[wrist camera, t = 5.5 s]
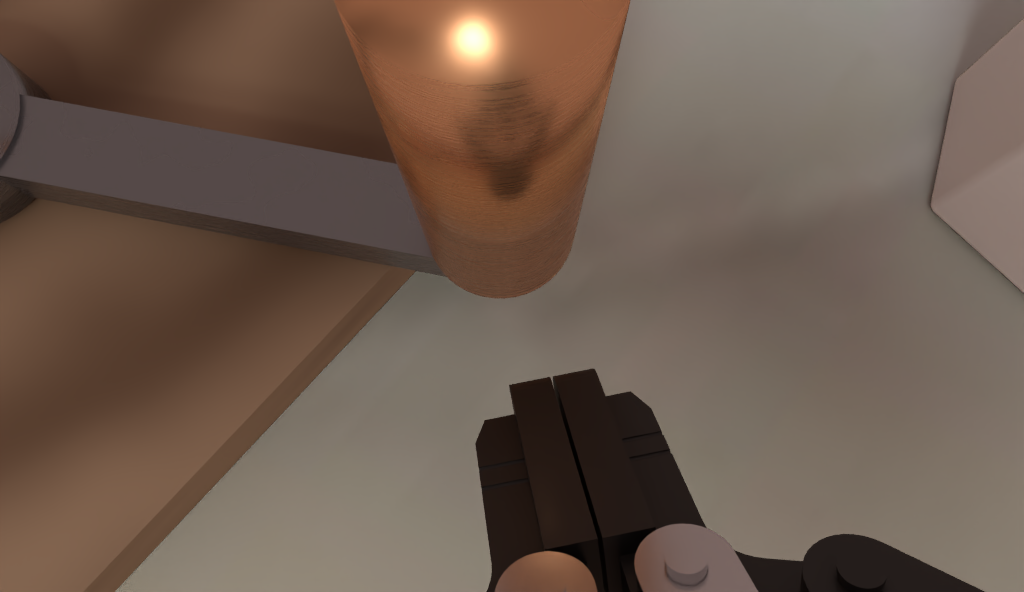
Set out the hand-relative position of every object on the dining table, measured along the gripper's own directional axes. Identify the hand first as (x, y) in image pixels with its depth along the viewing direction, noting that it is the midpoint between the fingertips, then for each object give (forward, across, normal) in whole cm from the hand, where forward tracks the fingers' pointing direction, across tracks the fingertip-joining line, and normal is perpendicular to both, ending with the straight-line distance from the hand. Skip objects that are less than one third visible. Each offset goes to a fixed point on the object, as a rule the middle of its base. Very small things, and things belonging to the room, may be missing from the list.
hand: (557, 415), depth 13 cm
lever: (+10, -7, +1) cm, 12 cm away
